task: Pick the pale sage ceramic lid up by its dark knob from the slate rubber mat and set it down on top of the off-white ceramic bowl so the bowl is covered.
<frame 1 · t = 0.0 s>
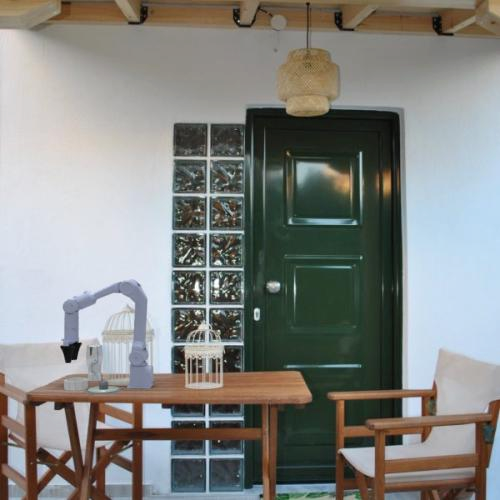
hand: (71, 361, 266), 10 cm above the table, tool pointing down, fingers open, 7 cm apart
lid: (103, 390, 256), resting on mat
bowl: (75, 389, 259), on the table
mat: (103, 391, 256), on the table
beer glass: (94, 381, 278), on the table
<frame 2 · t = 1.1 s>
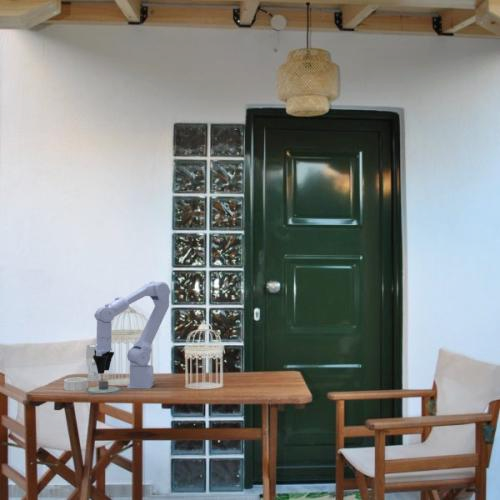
hand: (103, 371, 256), 8 cm above the table, tool pointing down, fingers open, 7 cm apart
nothing on the table moved.
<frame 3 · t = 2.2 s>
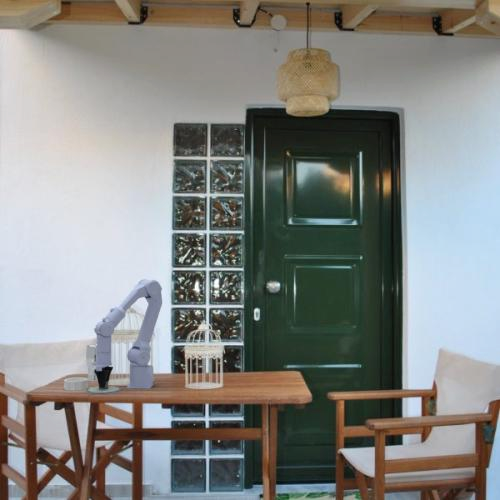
hand: (103, 386, 256), 2 cm above the table, tool pointing down, fingers closed on lid, 4 cm apart
lid: (103, 390, 256), resting on mat, touching gripper
everything else where it was.
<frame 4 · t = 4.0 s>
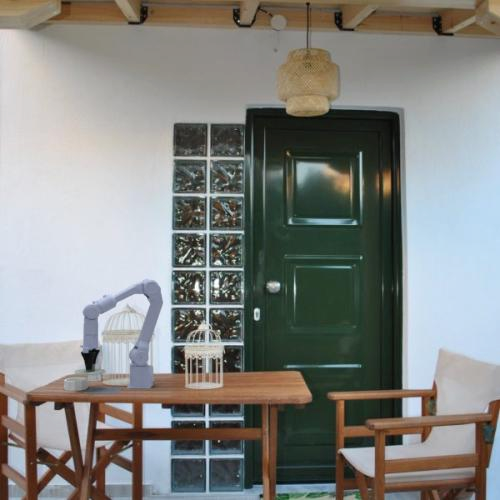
hand: (90, 368, 257), 8 cm above the table, tool pointing down, fingers closed on lid, 4 cm apart
lid: (90, 372, 257), point 7 cm above the table, touching gripper
everything else where it was.
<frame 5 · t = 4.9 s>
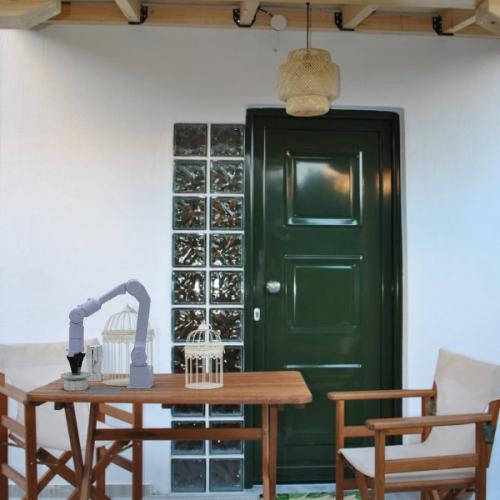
hand: (76, 372, 259), 7 cm above the table, tool pointing down, fingers closed on lid, 4 cm apart
lid: (76, 375, 259), point 5 cm above the table, touching gripper
everything else where it was.
when the fingers open (6 cm above the table, at t = 5.7 s): lid drops 1 cm, resting on bowl.
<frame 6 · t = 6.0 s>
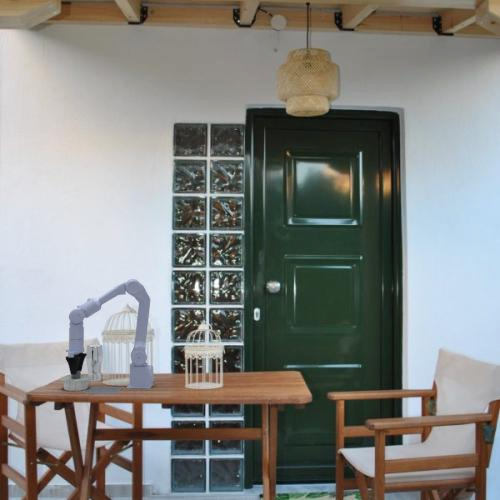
hand: (76, 372, 259), 7 cm above the table, tool pointing down, fingers open, 6 cm apart
lid: (75, 379, 259), point 4 cm above the table, touching bowl
bowl: (75, 389, 259), on the table, touching lid
everything else where it was.
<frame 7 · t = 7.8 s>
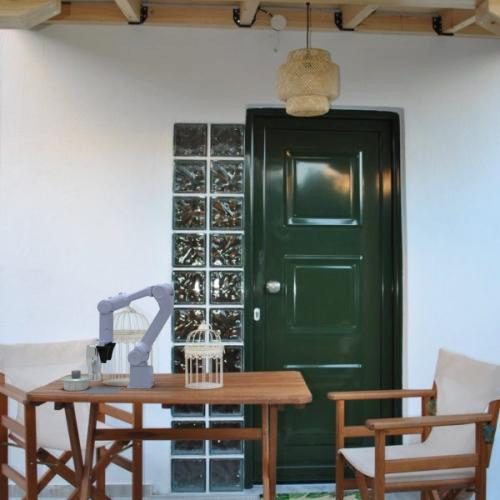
hand: (106, 361, 267), 10 cm above the table, tool pointing down, fingers open, 7 cm apart
nothing on the table moved.
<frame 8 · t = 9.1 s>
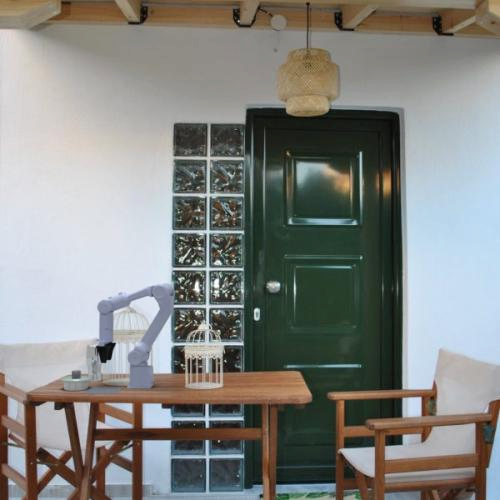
hand: (106, 361, 267), 10 cm above the table, tool pointing down, fingers open, 7 cm apart
nothing on the table moved.
at the end: lid 0.1 cm from the bowl (horizontally); lid point 3.8 cm above the table; lid tilted 0° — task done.
